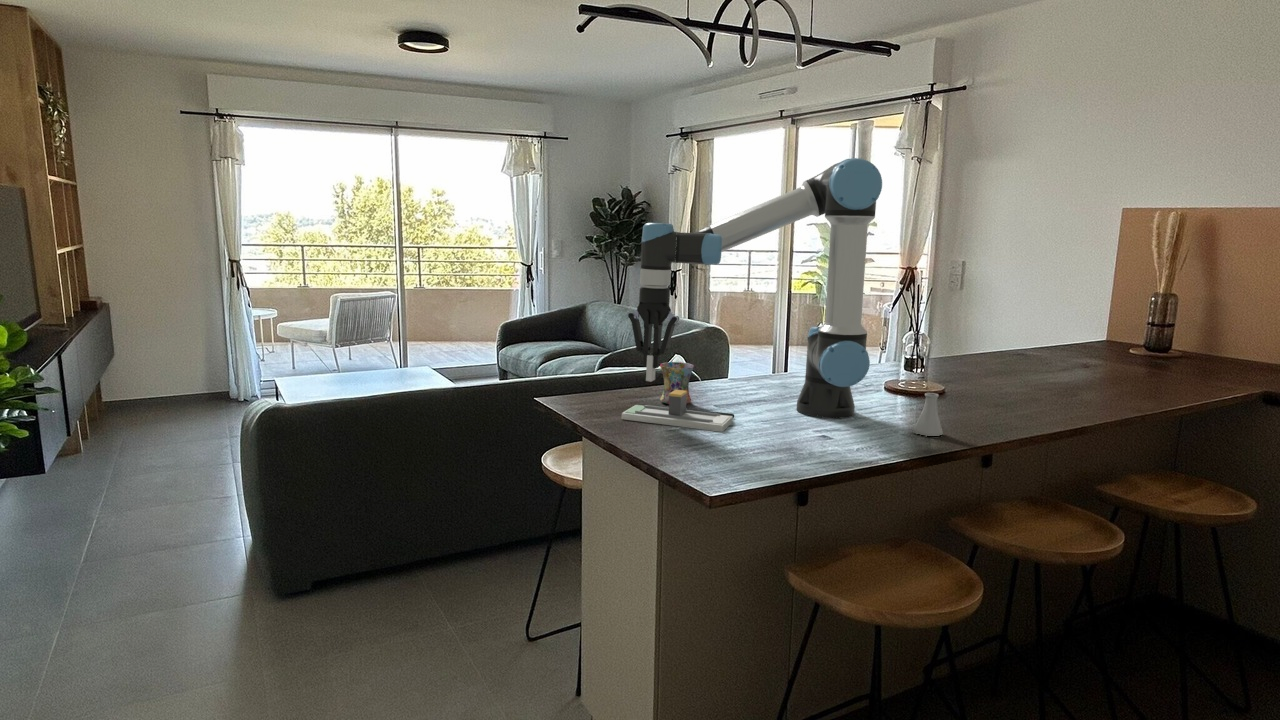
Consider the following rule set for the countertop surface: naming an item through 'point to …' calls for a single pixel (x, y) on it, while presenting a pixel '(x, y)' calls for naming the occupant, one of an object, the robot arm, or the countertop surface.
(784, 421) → the countertop surface
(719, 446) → the countertop surface
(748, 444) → the countertop surface
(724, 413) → the cable
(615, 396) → the countertop surface
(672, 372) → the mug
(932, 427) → the flask
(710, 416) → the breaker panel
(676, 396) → the block
